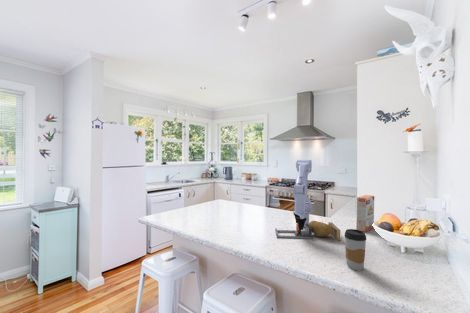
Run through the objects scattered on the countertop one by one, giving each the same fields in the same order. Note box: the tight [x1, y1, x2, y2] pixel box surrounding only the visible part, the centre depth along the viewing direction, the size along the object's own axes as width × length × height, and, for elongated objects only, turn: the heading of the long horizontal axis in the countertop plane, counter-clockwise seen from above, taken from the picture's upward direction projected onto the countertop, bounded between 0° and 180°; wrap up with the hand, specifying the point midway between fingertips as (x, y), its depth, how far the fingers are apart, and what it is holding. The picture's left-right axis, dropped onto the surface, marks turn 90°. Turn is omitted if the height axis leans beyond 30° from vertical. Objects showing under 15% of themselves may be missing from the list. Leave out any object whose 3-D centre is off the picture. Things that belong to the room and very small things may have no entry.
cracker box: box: [356, 194, 375, 233], centre depth 144 cm, size 14×6×21 cm, turn 131°
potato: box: [309, 220, 333, 238], centre depth 132 cm, size 10×14×8 cm
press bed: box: [274, 221, 341, 242], centre depth 133 cm, size 14×34×6 cm, turn 85°
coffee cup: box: [343, 228, 367, 271], centre depth 96 cm, size 8×8×15 cm
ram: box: [293, 222, 313, 237], centre depth 133 cm, size 9×9×7 cm
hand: (299, 227), depth 134 cm, fingers open, 7 cm apart
